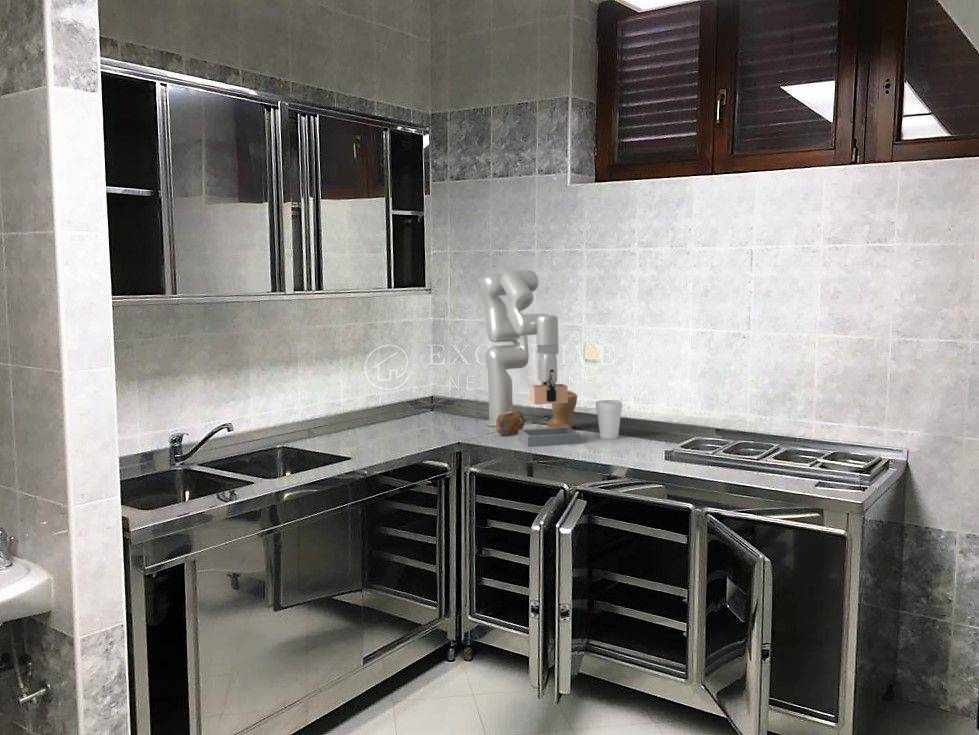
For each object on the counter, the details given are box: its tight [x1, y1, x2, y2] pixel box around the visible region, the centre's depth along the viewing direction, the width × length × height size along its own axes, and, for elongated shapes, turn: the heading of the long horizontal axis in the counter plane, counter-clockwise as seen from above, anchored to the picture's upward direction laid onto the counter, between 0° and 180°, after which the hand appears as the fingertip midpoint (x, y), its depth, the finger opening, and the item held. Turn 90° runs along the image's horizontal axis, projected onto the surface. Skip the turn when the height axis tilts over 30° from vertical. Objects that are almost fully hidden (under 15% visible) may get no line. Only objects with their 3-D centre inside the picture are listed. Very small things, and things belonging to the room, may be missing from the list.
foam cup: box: [595, 399, 623, 440], centre depth 315 cm, size 10×9×13 cm
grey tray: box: [517, 427, 582, 448], centre depth 310 cm, size 14×19×4 cm
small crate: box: [529, 383, 568, 405], centre depth 309 cm, size 6×12×6 cm, turn 101°
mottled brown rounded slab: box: [495, 410, 525, 437], centre depth 327 cm, size 15×3×8 cm, turn 143°
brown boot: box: [546, 390, 578, 428], centre depth 335 cm, size 15×12×15 cm
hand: (548, 399), depth 309 cm, fingers closed on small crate, 6 cm apart
